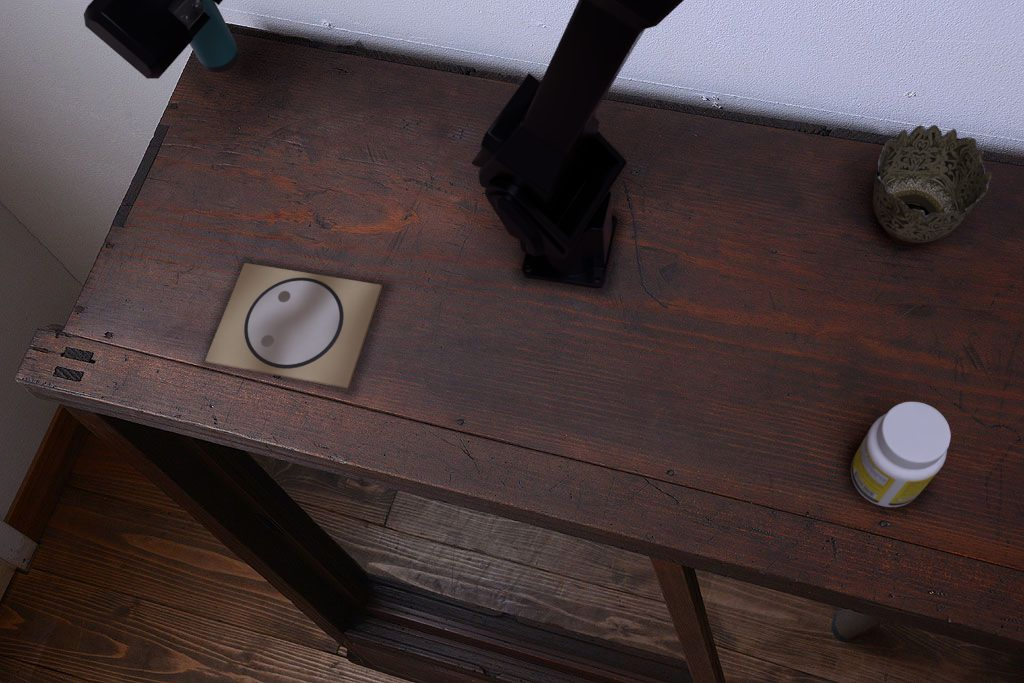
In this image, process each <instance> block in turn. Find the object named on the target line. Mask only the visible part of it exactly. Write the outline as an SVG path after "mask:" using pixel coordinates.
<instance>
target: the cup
mask: <svg viewBox="0 0 1024 683" xmlns="http://www.w3.org/2000/svg"><path fill="white" fill-rule="evenodd" d="M985 155H986V154H985V150H978V141H977V140H976V138H975V137H970V136H969V137H968V136H967V137H961V138H959V137H958V132H957V129H956V128H953V129H950V130H947V132H946V133H945V134H944V135H943V133H942V130H940V128H939V127H938V126H937V125H936V124H934V125H933V124H932V125H930V126H929V128H926V127H925V126H924V125H922V124H920V125H917V126H916V127H915V128H914V129H913V130H912V131H910V133H909V134H908V130H906V129H905V128H904V129H903V130H901V131H900V132H899V134H898V136H897V137H896V139H892V138H890V139H887V140H886V141H885V143H884V144H883V146H882V149H881V151H880V154H879V156H878V158H877V167H876V173H875V177H874V178H875V179H874V185H873V190H872V193H873V194H872V204H873V205H872V206H873V211H874V214H875V217H876V219H877V221H878V223H879V225H880V226H881V227H882V228H883V229H884V231H885V233H886V234H887V236H888V237H889V238H890V240H892V241H893V242H895V243H897V244H899V245H902V246H916V245H921V244H923V243H924V244H925V243H930V242H935V241H937V240H940V239H942V238H944V237H946V236H948V235H949V234H950V233H952V232H953V231H954V230H955V229H956V228H957V227H959V226H960V224H961V223H962V222H963V221H964V220H965V219H966V218H967V217H968V215H969V214H970V213H971V212H972V211H973V209H974V208H975V206H976V205H978V203H979V202H980V201H981V200H982V199H983V198H984V197H985V195H986V194H987V192H988V190H989V188H990V186H989V185H990V182H991V180H992V177H993V176H992V174H993V173H992V172H991V171H989V172H988V171H987V172H986V167H985V166H984V164H983V162H984V157H985Z"/></svg>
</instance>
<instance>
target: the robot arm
mask: <svg viewBox="0 0 1024 683" xmlns="http://www.w3.org/2000/svg"><path fill="white" fill-rule="evenodd" d="M213 1H214V2H215V3H216V5H217V6H219V5H221V3H222V2H224V0H213ZM684 1H685V0H578V1H577V3H576V5H575V8H574V9H573V12H572V13H571V16H570V18H569V20H568V23H567V24H566V26H565V29H564V31H563V33H562V36H561V38H560V40H559V42H558V44H557V46H556V49H555V51H554V53H553V55H552V57H551V59H550V61H549V63H548V66H547V68H546V70H545V72H544V74H543V76H542V79H541V81H540V80H538V79H537V78H536V77H535V76H533V75H532V74H531V73H530V72H528V73H527V74H526V75H525V77H524V79H523V80H522V81H521V82H520V84H519V85H518V87H517V88H516V90H515V91H514V93H512V95H511V96H510V98H509V100H508V101H507V102H506V104H505V105H504V107H503V108H502V109H501V110H500V112H499V113H498V115H497V116H496V118H495V119H494V121H493V122H492V123H491V124H490V126H489V127H488V129H487V131H486V132H485V133H484V135H483V138H482V140H481V145H480V149H479V151H478V153H477V154H476V155H475V157H474V158H473V159H472V161H471V164H472V165H473V166H474V167H477V168H479V170H478V171H477V178H478V182H479V185H480V187H482V188H484V196H485V198H486V199H487V201H488V203H489V204H490V206H491V208H492V209H493V211H494V212H495V214H496V215H497V217H498V218H499V220H500V221H501V224H502V225H503V227H504V228H505V230H506V231H507V233H508V234H509V235H510V236H511V237H513V238H515V239H517V240H518V243H519V248H520V250H521V252H522V253H525V256H524V259H523V263H522V268H521V273H522V275H523V276H524V277H525V278H527V279H528V278H529V279H536V280H542V281H549V282H554V283H561V284H568V285H574V286H580V287H587V288H594V289H600V288H602V287H604V284H605V281H606V276H607V271H608V268H609V263H610V259H611V254H612V251H613V246H614V241H615V237H616V233H617V227H618V224H619V223H618V217H617V216H616V215H614V214H613V211H612V209H613V208H612V192H611V191H610V190H611V189H612V187H613V185H614V184H615V182H616V181H617V180H618V178H619V176H620V174H621V173H622V172H623V170H624V168H625V167H626V165H627V164H628V162H627V160H626V159H625V157H624V156H622V154H621V153H620V152H619V151H618V150H617V149H616V148H615V147H614V146H613V145H612V144H611V142H609V141H608V139H606V138H605V136H604V135H603V134H602V133H601V132H600V131H599V127H600V124H601V123H600V119H599V117H598V116H597V115H596V112H597V111H598V109H599V107H600V105H601V104H602V102H603V101H604V99H605V97H606V95H607V94H608V92H609V90H610V89H611V87H612V86H613V84H614V82H615V81H616V79H617V77H618V75H619V74H620V72H621V71H622V69H623V67H624V66H625V64H626V62H627V61H628V59H629V57H630V55H631V54H632V53H633V51H634V49H635V47H636V46H637V44H638V42H639V41H640V39H641V37H642V36H643V34H644V33H645V31H646V30H647V29H650V28H653V27H657V26H658V25H659V24H660V23H661V22H662V21H664V19H666V17H668V16H669V15H670V14H671V13H672V12H673V11H674V10H676V8H678V7H679V6H680V5H681V4H682V3H683V2H684ZM204 10H205V5H204V3H203V0H91V2H90V3H89V4H88V5H87V6H86V8H85V9H84V12H83V19H84V26H85V27H86V28H87V29H88V30H90V31H91V32H92V33H93V34H94V35H95V36H97V37H98V38H99V39H100V40H101V41H102V42H104V43H105V45H107V46H108V47H109V48H111V49H112V50H113V51H114V52H115V53H116V54H117V55H119V57H121V58H122V59H123V60H125V61H126V62H127V63H128V64H129V65H130V66H132V67H133V68H134V69H135V70H136V71H138V73H140V74H141V76H143V77H144V78H145V79H153V80H155V79H156V80H157V79H159V78H161V77H162V76H163V74H164V73H165V72H166V71H167V70H168V69H169V67H170V66H172V65H173V63H174V62H175V61H176V60H177V58H178V57H179V56H180V55H182V53H183V52H184V50H185V49H186V48H188V46H189V45H190V42H191V41H192V40H193V37H194V36H195V35H196V34H197V33H198V32H199V31H200V29H201V28H202V27H203V26H204V25H205V24H206V23H207V22H208V20H209V19H210V16H209V15H208V14H206V13H205V12H204ZM527 270H530V271H527ZM596 281H599V282H596Z"/></svg>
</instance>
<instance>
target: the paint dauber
mask: <svg viewBox="0 0 1024 683" xmlns="http://www.w3.org/2000/svg"><path fill="white" fill-rule="evenodd" d="M203 3H204V5H205V10H204V12H205V13H206V14H208V15H209V16H210V19H209V20H208V22H207V23H206V24H205V25H204V26H203V27H202V28H201V29H200V31H199V32H198V33H197V34H196V35H195V36H194V37H193V40H192V41H191V42H190V44H189V45H190V48H191V49H192V52H194V54H195V56H196V57H197V60H198V61H199V62H200V64H201V65H202V66H203V67H204V68H205V69H206V70H207V71H208V72H211V73H216V74H217V73H223V72H226V71H229V70H230V69H232V68H233V67H235V65H236V64H237V63H238V61H239V59H240V50H239V49H238V44H237V42H236V39H235V38H234V36H233V34H232V33H231V31H230V28H229V26H228V25H227V23H226V21H225V19H224V17H223V15H222V13H221V11H220V9H219V7H218V4H216V3H215V2H214V1H213V0H203Z"/></svg>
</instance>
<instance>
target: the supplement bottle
mask: <svg viewBox="0 0 1024 683" xmlns="http://www.w3.org/2000/svg"><path fill="white" fill-rule="evenodd" d="M951 436H952V434H951V428H950V425H949V423H948V421H947V419H946V418H945V417H944V415H943V414H942V413H941V412H940V411H939V410H937V409H936V408H935V407H933V406H931V405H929V404H928V403H927V404H926V403H923V402H920V401H905V402H901V403H898V404H896V405H894V406H893V407H892V408H890V409H889V410H888V411H887V413H884V414H883V415H881V416H880V417H878V418H877V419H875V421H874V422H873V423H872V425H871V426H870V428H869V429H868V431H867V433H866V435H865V437H864V438H863V440H862V442H861V443H860V445H859V447H858V448H857V450H856V452H855V454H854V455H853V458H852V460H851V465H850V475H851V479H852V483H853V485H854V487H855V489H856V490H857V491H858V493H859V494H860V495H861V496H862V497H863V498H864V499H865V500H867V501H869V502H870V503H872V504H874V505H877V506H880V507H885V508H898V507H903V506H906V505H908V504H910V503H911V502H913V501H914V500H915V499H916V498H918V496H920V494H921V493H922V492H923V490H925V488H926V487H927V486H928V485H929V483H931V481H932V480H933V479H934V477H935V476H936V475H937V474H938V473H939V471H940V470H941V469H942V467H943V466H944V464H945V461H946V459H947V454H948V449H949V446H950V443H951V439H952V437H951Z"/></svg>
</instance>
